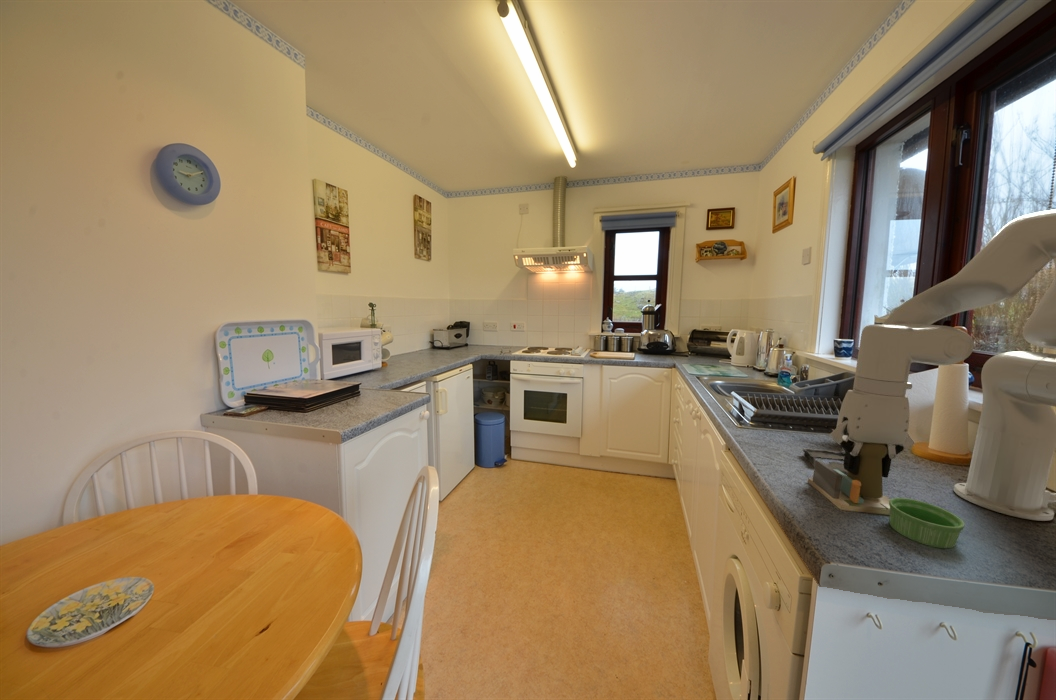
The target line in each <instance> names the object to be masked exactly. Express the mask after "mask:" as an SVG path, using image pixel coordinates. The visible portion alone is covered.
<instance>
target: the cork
mask: <svg viewBox="0 0 1056 700" xmlns="http://www.w3.org/2000/svg"><path fill="white" fill-rule="evenodd" d="M853 444H854V443H853ZM852 446H853V445H852ZM886 454H887V447H886V446H885V444H875V443H863V444H862V447H861V449H860V451H859V453H858V456H859V457H860V458H861V459H860V466H859V472H858V474H857V475H853V474H852V473H850V472H848V473H846V475H847V476H848V477H849V478H851V479H852V480H858V481H860V482H861V486H860V493H859V495H861V496H864V497H869V498H882V496H883V495H884V493H883V492H884V491H883V490H884V489H883V477H882V458H884V457H885V455H886Z"/></svg>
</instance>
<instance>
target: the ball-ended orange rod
mask: <svg viewBox="0 0 1056 700" xmlns="http://www.w3.org/2000/svg"><path fill="white" fill-rule="evenodd" d="M860 486H861V482H860V481H858V480H853V481H852V486H851V492H850V498H849V499H850V500H851V501H853V502H854V503H858V499H859V493H860Z"/></svg>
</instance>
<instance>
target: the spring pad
mask: <svg viewBox="0 0 1056 700" xmlns="http://www.w3.org/2000/svg"><path fill="white" fill-rule="evenodd" d="M834 470H835V471H836V472H838V473H839V474H841V475H842V482H841V488H840V490H841V491H842V492H843V493H844V494H846V495H847V496H848V497H850V492H851V486H852V481H853V480H852V479H851V478H849V477H848V476H847V474H845V472H841V471H839V470H838V469H834ZM858 503H861V504H864V499H862V498H861V497H860V496H859V499H858Z"/></svg>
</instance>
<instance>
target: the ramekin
mask: <svg viewBox="0 0 1056 700" xmlns="http://www.w3.org/2000/svg"><path fill="white" fill-rule="evenodd" d="M889 505H890V515H889V518H888V519H889V521H888V522H889V525H890V527H891V528H892V529H893V530H894V531H896V532H897V533H898V534H900V535H902V536H903V537H905V538H907V539H910V540H912V541H914V542H916V543H919V544H923V545H925V546H928V547H933V548H939V549H952V548H954V547H955V546H956V544H957V543H958V539H959V536H960V534H961V532H962V531H963V530H964V529H965V522H964V521H963V519H962V518H960V517H959V516H958V515H956V514H954V513H952V512H950V511H949V510H946V509H944V508H942V507H939V506H937V505H935V504H930V503H929V502H925V501H921V500H917V499H911V498H907V497H906V498H905V497H893V498H891V499H890V501H889Z"/></svg>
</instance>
